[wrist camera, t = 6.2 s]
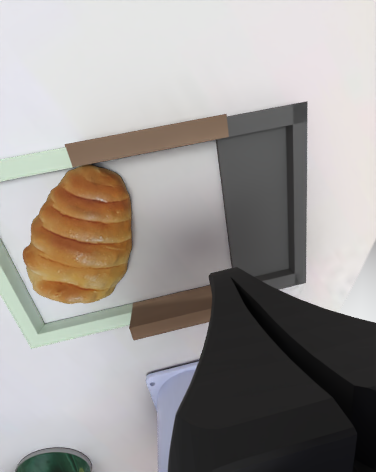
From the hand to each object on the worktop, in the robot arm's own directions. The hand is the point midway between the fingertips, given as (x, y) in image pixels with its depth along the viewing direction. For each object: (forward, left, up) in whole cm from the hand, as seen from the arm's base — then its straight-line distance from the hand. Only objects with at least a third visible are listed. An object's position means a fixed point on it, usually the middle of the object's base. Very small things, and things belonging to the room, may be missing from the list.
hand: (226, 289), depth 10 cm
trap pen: (+1, -6, -8) cm, 10 cm away
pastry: (+1, +8, -9) cm, 12 cm away
